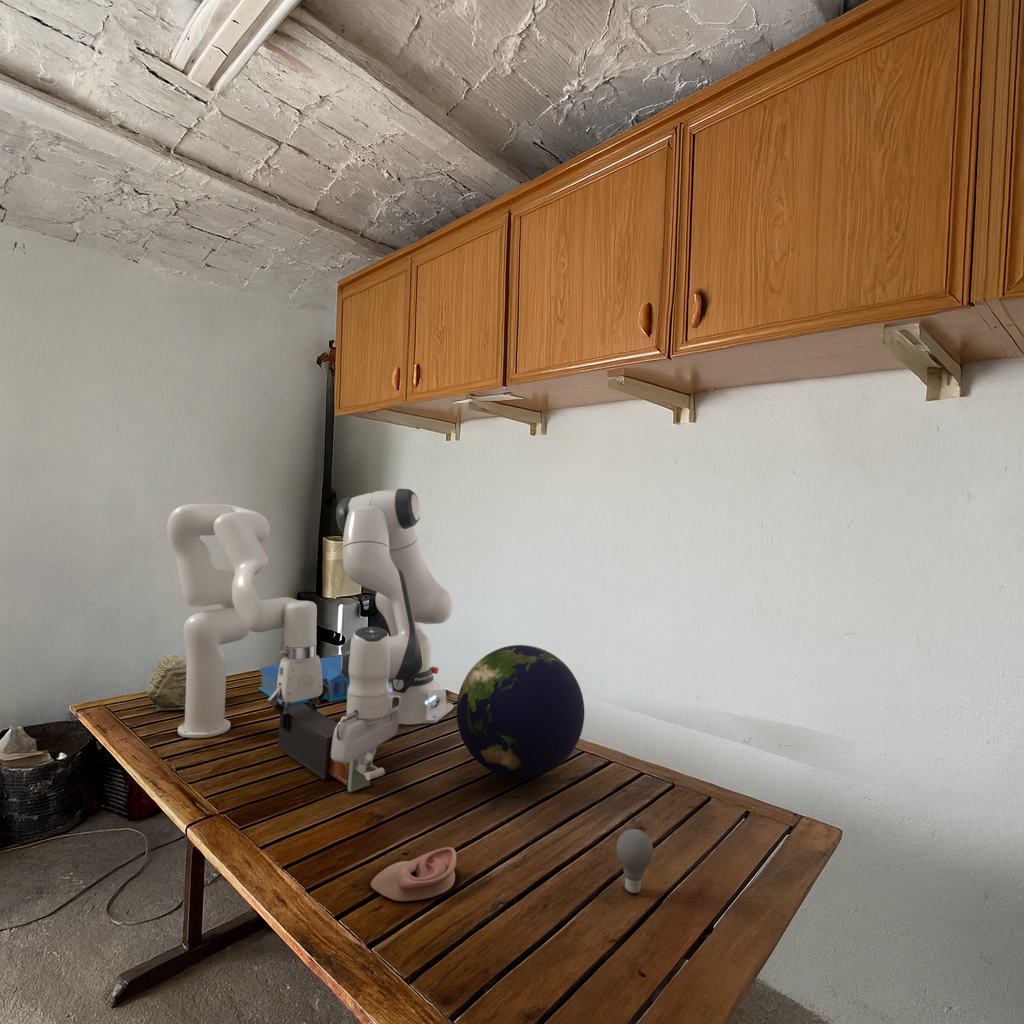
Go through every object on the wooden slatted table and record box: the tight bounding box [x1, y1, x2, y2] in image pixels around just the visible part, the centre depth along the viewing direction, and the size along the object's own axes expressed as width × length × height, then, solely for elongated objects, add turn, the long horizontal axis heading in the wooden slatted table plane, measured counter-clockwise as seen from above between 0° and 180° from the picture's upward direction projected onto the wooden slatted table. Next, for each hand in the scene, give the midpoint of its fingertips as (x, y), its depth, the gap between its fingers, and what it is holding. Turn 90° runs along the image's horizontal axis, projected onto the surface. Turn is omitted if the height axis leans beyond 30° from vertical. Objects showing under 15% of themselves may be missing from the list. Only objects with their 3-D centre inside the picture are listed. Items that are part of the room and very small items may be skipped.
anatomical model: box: [370, 846, 458, 902], centre depth 106 cm, size 13×4×12 cm
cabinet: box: [277, 703, 339, 781], centre depth 150 cm, size 21×6×10 cm, turn 49°
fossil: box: [147, 654, 187, 712], centre depth 185 cm, size 9×18×15 cm, turn 132°
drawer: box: [328, 739, 386, 793], centre depth 142 cm, size 25×5×8 cm, turn 49°
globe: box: [456, 644, 585, 780], centre depth 149 cm, size 30×30×30 cm
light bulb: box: [615, 828, 654, 894], centre depth 106 cm, size 6×6×10 cm
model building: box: [258, 655, 391, 707], centre depth 208 cm, size 39×24×10 cm, turn 132°
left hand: (298, 724), depth 155 cm, fingers closed on cabinet, 6 cm apart
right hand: (364, 769), depth 135 cm, fingers closed, pressing on drawer
